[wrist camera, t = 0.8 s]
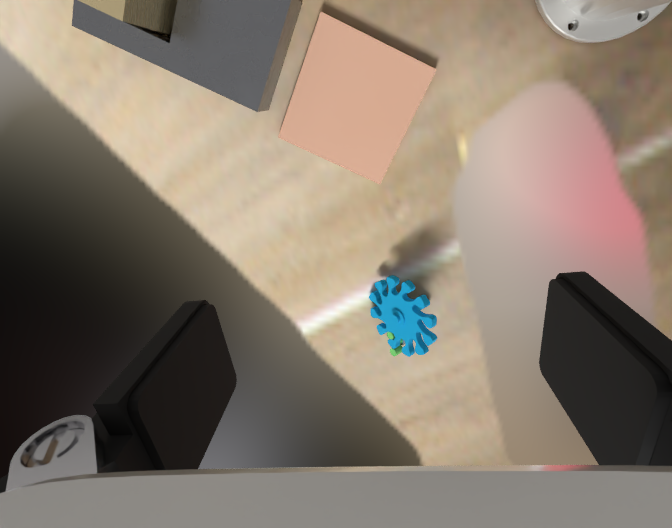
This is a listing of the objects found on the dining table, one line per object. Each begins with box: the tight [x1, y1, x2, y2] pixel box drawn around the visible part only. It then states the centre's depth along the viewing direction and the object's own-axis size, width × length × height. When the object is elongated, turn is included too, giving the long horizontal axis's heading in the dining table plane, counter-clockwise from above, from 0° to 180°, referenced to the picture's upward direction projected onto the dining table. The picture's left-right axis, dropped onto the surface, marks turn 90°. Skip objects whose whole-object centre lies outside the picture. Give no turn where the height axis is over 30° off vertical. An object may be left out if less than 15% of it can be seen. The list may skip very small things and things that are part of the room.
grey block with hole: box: [72, 0, 302, 112], centre depth 33 cm, size 10×18×4 cm, turn 67°
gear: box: [369, 275, 437, 357], centre depth 44 cm, size 11×6×10 cm
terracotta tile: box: [278, 12, 437, 184], centre depth 37 cm, size 12×12×1 cm
